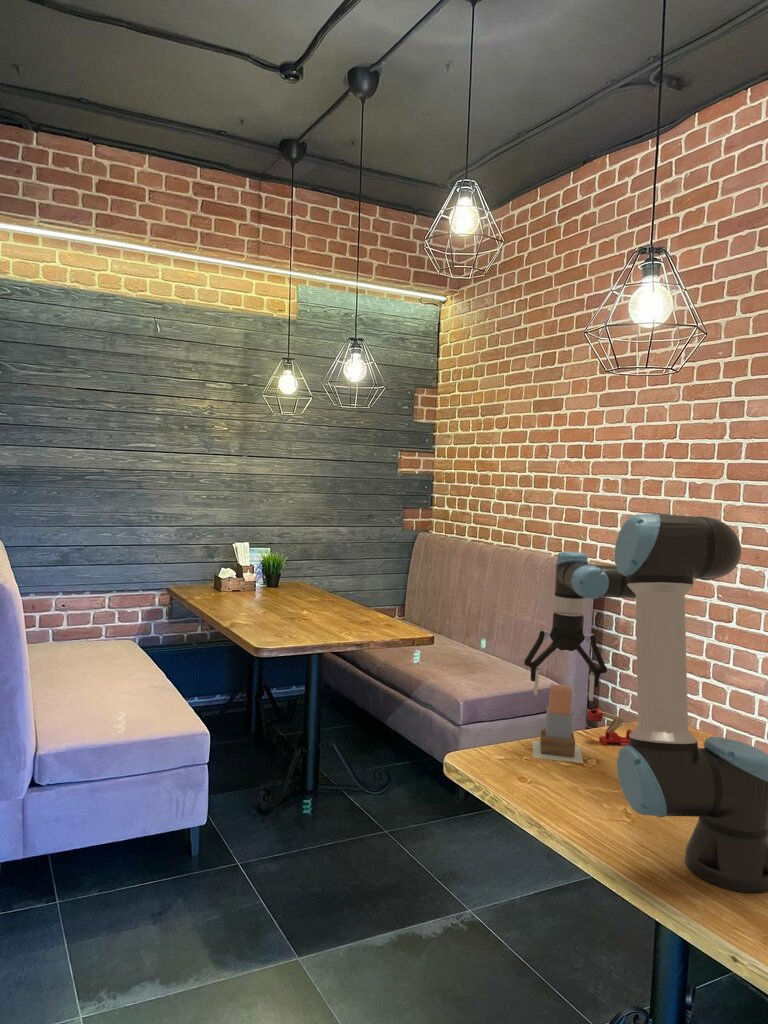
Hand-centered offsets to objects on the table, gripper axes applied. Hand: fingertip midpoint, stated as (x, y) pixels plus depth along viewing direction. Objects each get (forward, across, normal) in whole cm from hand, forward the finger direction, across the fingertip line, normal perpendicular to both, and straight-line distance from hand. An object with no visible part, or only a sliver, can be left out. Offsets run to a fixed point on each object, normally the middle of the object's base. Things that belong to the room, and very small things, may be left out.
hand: (563, 696), depth 191 cm
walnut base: (+14, +1, 0) cm, 14 cm away
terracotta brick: (+4, +1, 0) cm, 4 cm away
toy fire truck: (+15, -14, -10) cm, 23 cm away
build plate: (+15, +1, +1) cm, 15 cm away
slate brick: (+10, +1, 0) cm, 10 cm away
